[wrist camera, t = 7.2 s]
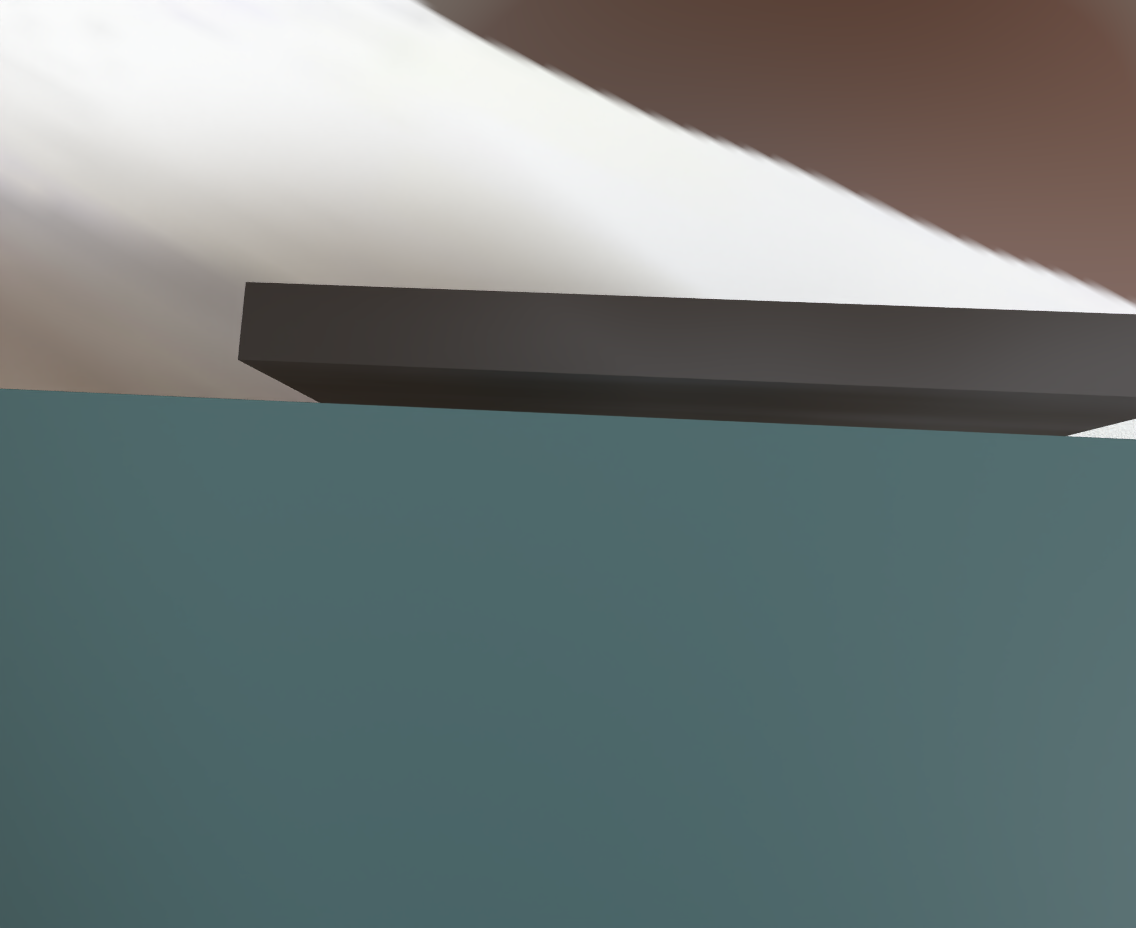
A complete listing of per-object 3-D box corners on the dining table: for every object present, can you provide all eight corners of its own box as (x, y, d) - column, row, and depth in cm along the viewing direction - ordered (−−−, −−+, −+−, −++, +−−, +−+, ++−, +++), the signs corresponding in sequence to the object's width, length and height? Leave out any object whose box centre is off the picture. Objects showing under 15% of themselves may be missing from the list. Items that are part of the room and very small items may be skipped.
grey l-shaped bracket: (903, 1006, 20) (1255, 1541, 9) (377, 964, 21) (130, 1414, 10) (905, 413, 22) (1205, 275, 11) (420, 391, 23) (249, 243, 12)
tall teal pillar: (777, 737, 15) (1669, 1672, 3) (455, 716, 16) (-209, 1442, 3) (781, 536, 16) (1553, 458, 3) (469, 520, 16) (-55, 387, 3)
